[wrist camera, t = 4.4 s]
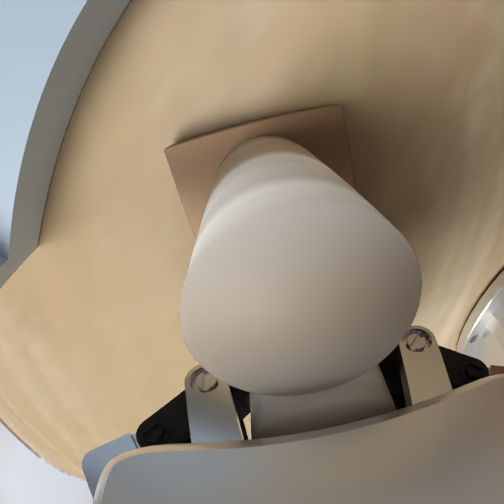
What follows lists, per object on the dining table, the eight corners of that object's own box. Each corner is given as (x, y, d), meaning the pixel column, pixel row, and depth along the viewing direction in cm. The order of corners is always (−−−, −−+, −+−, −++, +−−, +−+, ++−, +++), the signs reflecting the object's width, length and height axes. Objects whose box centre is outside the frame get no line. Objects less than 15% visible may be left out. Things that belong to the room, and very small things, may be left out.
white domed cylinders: (170, 145, 11) (55, 237, 4) (332, 105, 10) (482, 135, 3) (257, 377, 17) (265, 498, 10) (358, 354, 17) (398, 468, 10)
